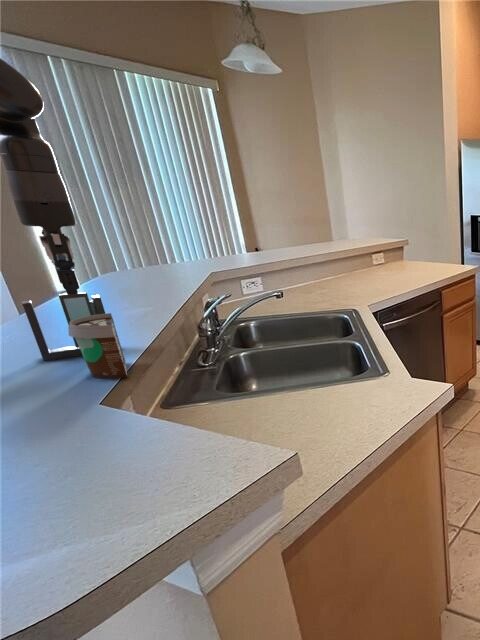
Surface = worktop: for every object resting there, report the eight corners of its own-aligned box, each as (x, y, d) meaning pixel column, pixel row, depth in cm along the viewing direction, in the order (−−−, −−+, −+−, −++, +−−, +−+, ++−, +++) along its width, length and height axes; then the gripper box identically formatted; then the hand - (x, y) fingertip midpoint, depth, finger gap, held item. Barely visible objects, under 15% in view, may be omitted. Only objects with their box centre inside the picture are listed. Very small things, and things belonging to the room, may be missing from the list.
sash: (76, 348, 91) (50, 271, 85) (75, 346, 92) (50, 271, 86) (103, 344, 94) (79, 270, 88) (102, 343, 94) (79, 269, 89)
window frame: (43, 361, 88) (22, 303, 84) (42, 357, 90) (21, 301, 85) (116, 350, 95) (100, 297, 91) (114, 347, 97) (98, 295, 93)
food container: (84, 367, 85) (67, 316, 82) (125, 361, 89) (110, 312, 85) (81, 386, 77) (61, 330, 73) (127, 379, 80) (110, 325, 77)
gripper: (12, 197, 84) (41, 283, 90) (12, 198, 75) (45, 293, 81) (66, 199, 89) (90, 280, 95) (73, 200, 80) (99, 289, 86)
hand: (70, 286), depth 88 cm, fingers open, 8 cm apart
